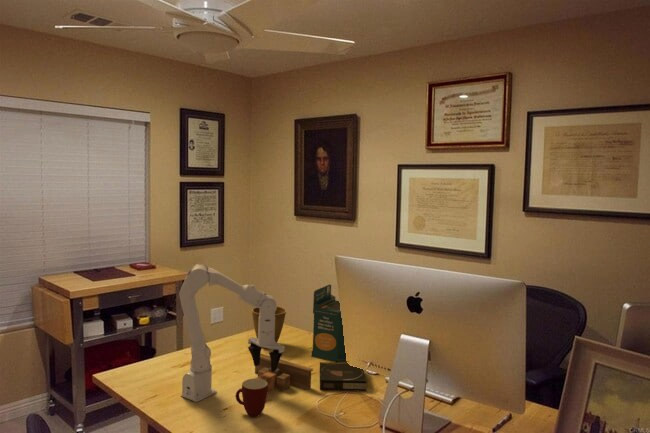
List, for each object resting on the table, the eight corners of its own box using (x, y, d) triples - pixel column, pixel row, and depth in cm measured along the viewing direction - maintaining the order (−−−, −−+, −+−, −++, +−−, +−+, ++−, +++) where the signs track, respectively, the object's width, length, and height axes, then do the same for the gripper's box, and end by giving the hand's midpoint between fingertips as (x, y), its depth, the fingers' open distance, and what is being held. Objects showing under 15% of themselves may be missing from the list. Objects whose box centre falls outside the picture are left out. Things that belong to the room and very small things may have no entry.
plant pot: (278, 353, 207) (279, 316, 206) (245, 348, 211) (246, 312, 209) (289, 341, 222) (290, 307, 221) (258, 337, 225) (259, 303, 224)
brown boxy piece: (257, 397, 166) (258, 380, 165) (249, 395, 168) (250, 378, 167) (279, 385, 176) (279, 369, 175) (271, 383, 178) (272, 367, 177)
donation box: (328, 345, 219) (330, 283, 217) (361, 352, 212) (364, 288, 210) (311, 356, 205) (313, 291, 202) (346, 364, 198) (349, 296, 195)
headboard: (299, 396, 168) (299, 376, 167) (243, 378, 181) (243, 359, 180) (312, 388, 175) (313, 368, 174) (257, 371, 188) (258, 352, 187)
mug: (229, 417, 152) (230, 386, 151) (239, 405, 160) (240, 376, 159) (262, 422, 150) (263, 390, 149) (270, 410, 158) (271, 380, 157)
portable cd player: (319, 391, 173) (320, 380, 173) (319, 372, 190) (319, 362, 190) (366, 393, 174) (366, 382, 173) (361, 373, 191) (362, 363, 190)
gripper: (290, 331, 170) (288, 369, 171) (257, 323, 177) (256, 359, 178) (277, 336, 164) (276, 376, 165) (244, 327, 171) (243, 365, 172)
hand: (265, 367), depth 171 cm, fingers open, 7 cm apart
